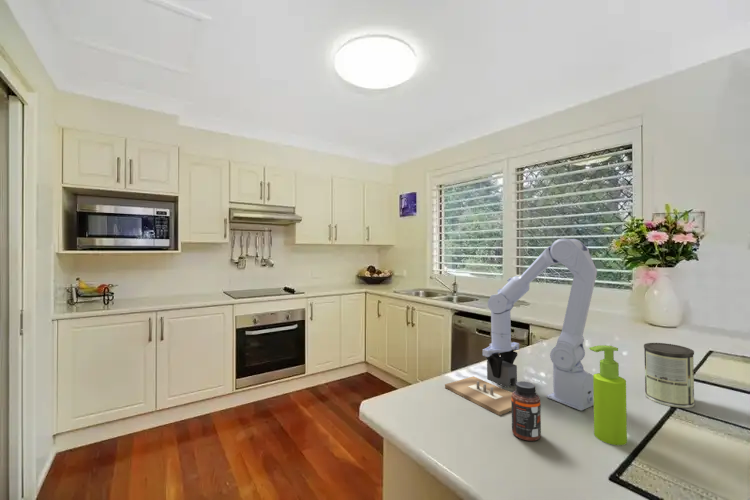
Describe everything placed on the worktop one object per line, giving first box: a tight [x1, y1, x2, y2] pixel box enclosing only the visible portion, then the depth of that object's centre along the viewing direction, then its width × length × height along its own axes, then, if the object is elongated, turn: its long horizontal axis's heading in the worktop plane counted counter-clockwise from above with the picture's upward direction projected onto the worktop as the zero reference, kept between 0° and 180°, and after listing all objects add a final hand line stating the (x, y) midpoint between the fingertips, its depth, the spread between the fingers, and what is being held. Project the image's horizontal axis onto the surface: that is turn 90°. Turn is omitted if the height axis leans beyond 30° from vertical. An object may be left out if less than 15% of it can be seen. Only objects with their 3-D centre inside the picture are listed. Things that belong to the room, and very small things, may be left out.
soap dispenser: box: [588, 344, 628, 446], centre depth 73 cm, size 6×7×20 cm
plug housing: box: [486, 360, 518, 388], centre depth 105 cm, size 8×4×6 cm, turn 30°
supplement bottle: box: [511, 380, 542, 442], centre depth 75 cm, size 6×6×11 cm
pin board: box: [444, 376, 513, 416], centre depth 96 cm, size 20×12×3 cm, turn 30°
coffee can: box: [643, 342, 696, 409], centre depth 91 cm, size 10×10×14 cm
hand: (501, 375), depth 105 cm, fingers closed on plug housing, 4 cm apart
